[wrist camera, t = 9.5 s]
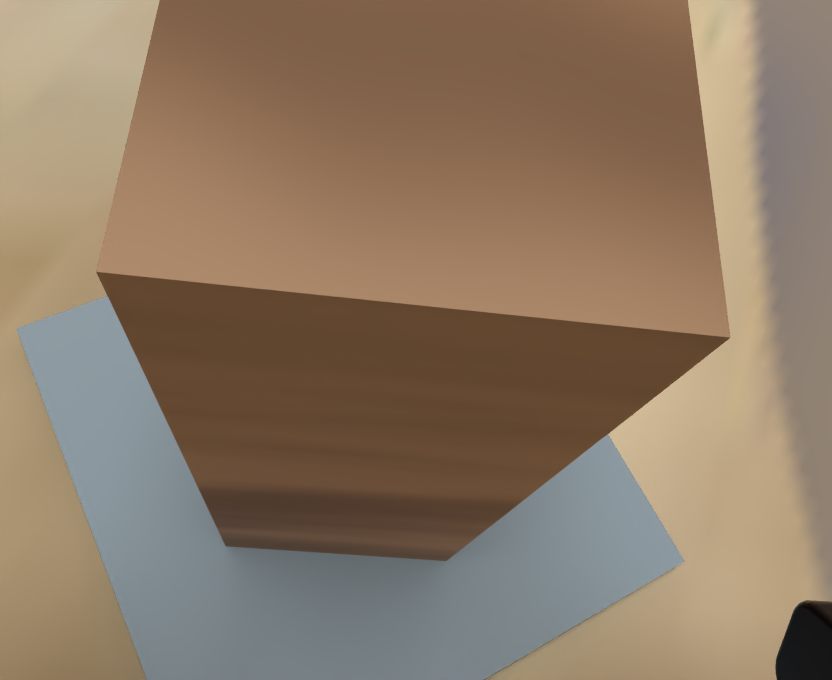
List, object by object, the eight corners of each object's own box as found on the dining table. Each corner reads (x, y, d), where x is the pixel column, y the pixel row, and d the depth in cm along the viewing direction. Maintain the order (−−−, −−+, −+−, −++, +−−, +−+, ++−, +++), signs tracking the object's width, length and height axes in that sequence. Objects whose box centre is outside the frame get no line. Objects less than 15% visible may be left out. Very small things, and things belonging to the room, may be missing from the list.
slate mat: (673, 564, 20) (684, 561, 19) (210, 836, 16) (207, 842, 15) (446, 184, 23) (450, 172, 23) (23, 338, 20) (16, 328, 19)
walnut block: (446, 560, 18) (730, 337, 6) (225, 546, 18) (95, 272, 6) (451, 360, 20) (676, -90, 8) (253, 341, 20) (199, -170, 8)
